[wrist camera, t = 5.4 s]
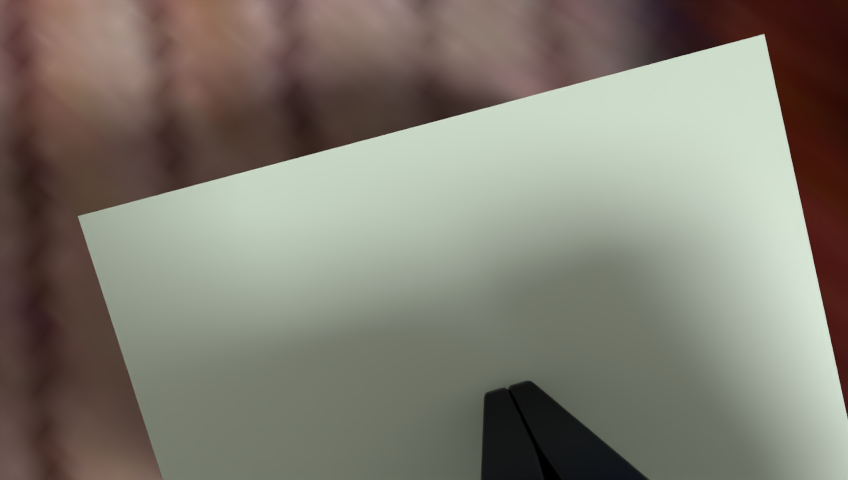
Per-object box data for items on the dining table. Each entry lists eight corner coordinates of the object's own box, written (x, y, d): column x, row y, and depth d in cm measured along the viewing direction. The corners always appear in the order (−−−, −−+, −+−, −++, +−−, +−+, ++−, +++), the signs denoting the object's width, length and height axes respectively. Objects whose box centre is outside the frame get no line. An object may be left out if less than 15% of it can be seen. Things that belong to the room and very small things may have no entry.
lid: (830, 499, 11) (871, 526, 10) (255, 681, 10) (243, 727, 9) (730, 50, 10) (763, 34, 9) (107, 215, 9) (78, 215, 8)
